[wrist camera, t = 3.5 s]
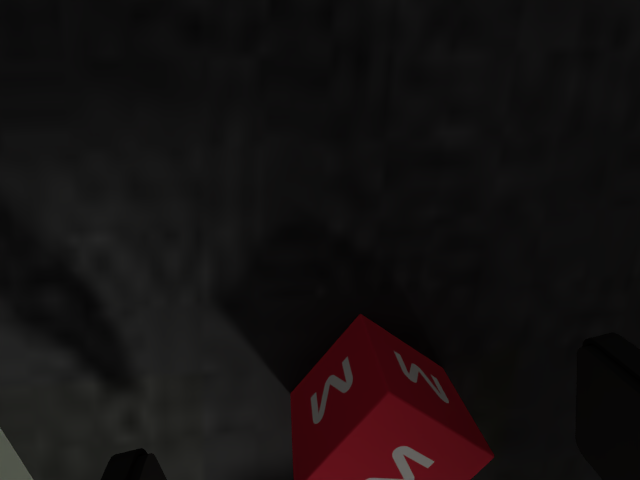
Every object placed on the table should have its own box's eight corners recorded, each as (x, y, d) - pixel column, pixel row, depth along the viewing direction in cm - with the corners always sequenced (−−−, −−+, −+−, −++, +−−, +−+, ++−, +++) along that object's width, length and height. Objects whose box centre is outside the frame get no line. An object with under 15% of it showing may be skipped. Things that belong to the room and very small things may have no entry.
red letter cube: (359, 312, 11) (388, 391, 8) (442, 367, 11) (495, 457, 9) (289, 392, 11) (293, 492, 8) (373, 439, 12) (401, 545, 9)
